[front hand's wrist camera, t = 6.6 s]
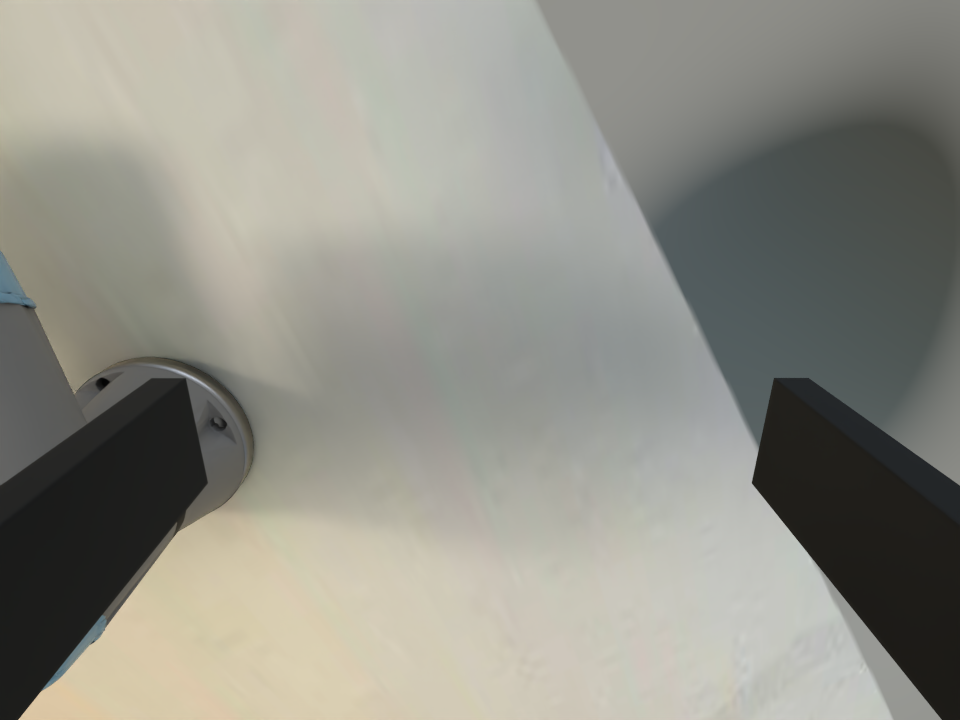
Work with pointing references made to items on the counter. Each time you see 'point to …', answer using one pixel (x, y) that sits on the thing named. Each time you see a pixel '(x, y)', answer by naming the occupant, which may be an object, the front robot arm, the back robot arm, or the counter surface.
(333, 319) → the counter surface
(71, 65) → the counter surface
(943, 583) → the front robot arm
